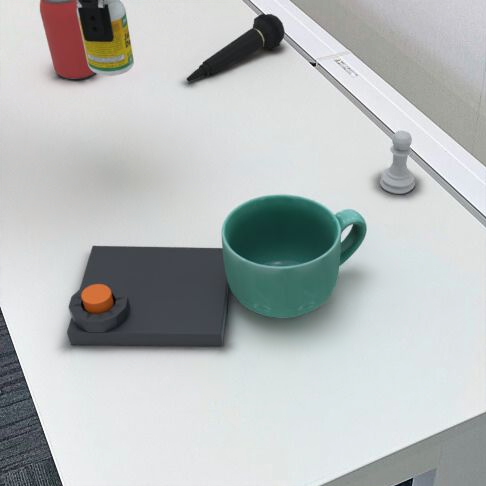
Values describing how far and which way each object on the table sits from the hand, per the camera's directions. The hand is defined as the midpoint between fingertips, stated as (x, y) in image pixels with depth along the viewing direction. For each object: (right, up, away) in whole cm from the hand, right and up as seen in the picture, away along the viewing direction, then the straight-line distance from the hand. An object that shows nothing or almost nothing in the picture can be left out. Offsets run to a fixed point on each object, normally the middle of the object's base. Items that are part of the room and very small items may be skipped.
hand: (103, 26), depth 89 cm
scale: (+7, -32, -2) cm, 32 cm away
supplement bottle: (0, -3, +4) cm, 5 cm away
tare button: (+2, -32, -7) cm, 33 cm away
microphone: (+10, +10, +36) cm, 39 cm away
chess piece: (+35, -15, +15) cm, 41 cm away
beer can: (-14, +6, +31) cm, 35 cm away
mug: (+22, -30, 0) cm, 38 cm away
